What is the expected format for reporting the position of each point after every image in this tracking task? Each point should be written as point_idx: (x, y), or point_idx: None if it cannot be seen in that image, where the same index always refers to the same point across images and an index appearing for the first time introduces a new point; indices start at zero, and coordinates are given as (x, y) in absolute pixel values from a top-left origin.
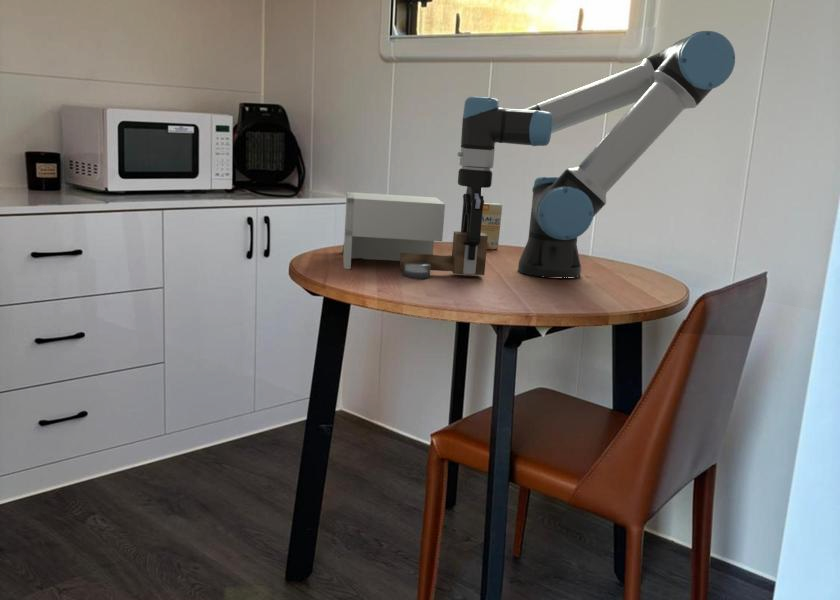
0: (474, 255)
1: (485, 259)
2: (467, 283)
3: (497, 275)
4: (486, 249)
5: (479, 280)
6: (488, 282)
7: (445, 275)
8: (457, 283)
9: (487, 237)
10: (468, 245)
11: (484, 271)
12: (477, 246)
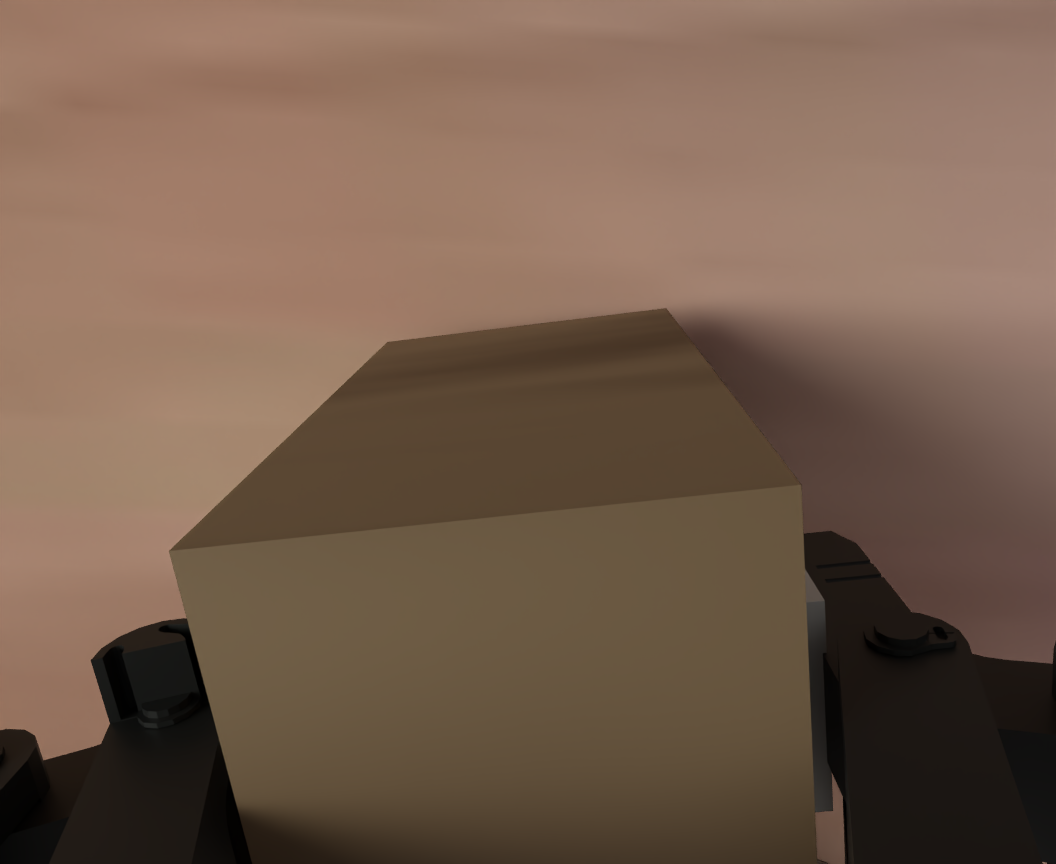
0: (869, 569)
1: (695, 352)
2: (970, 502)
3: (294, 103)
4: (727, 391)
5: (739, 359)
6: (836, 255)
7: None
8: (998, 604)
9: (792, 473)
10: (833, 762)
11: (669, 319)
12: (819, 595)
